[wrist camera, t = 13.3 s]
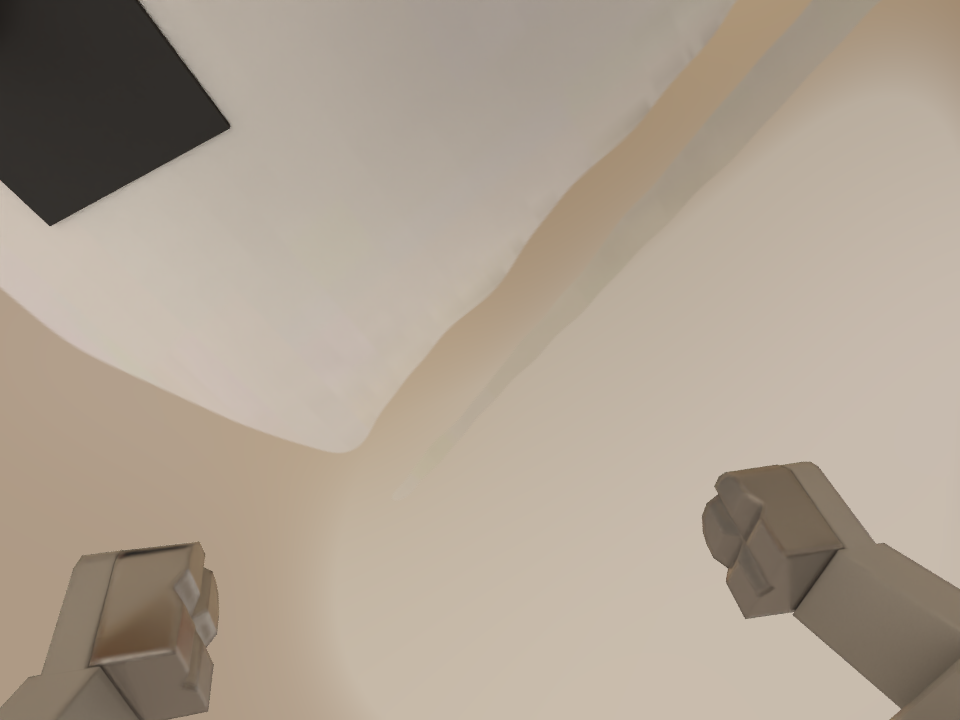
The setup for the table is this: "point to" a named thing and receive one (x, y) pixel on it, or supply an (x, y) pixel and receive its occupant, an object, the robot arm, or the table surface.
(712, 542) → the robot arm
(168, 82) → the placemat
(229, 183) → the table surface
